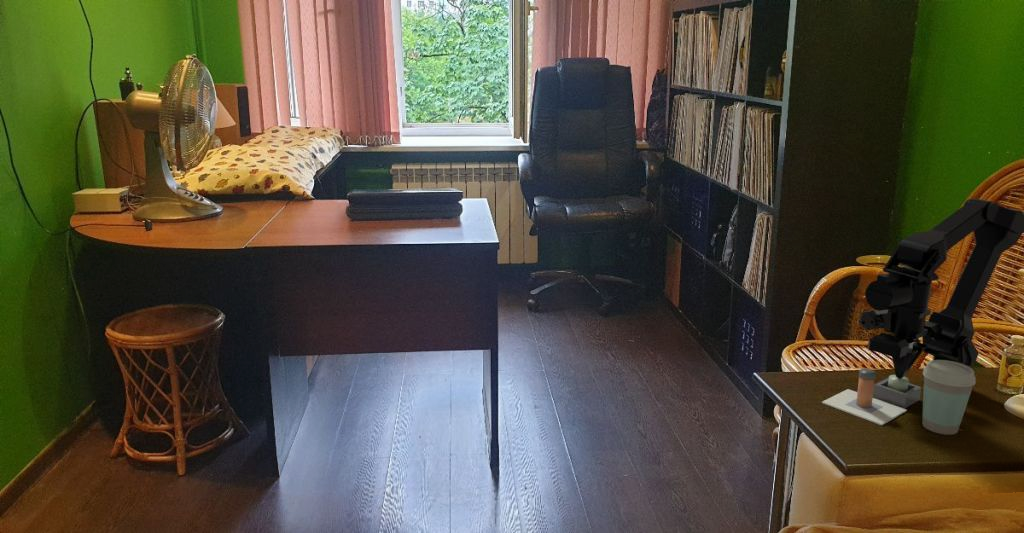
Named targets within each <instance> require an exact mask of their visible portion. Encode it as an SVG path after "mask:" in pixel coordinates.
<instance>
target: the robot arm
mask: <svg viewBox="0 0 1024 533" xmlns="http://www.w3.org/2000/svg"><path fill="white" fill-rule="evenodd" d="M972 233H973V237H974V241H975V245H974V246H973V249H972V251H971V254H970V256H969V258H968V260H967V263H966V264H965V267H964V269H963V271H962V273H961V275H960V277H959V279H958V281H957V284H956V286H955V288H954V289H953V292H952V294H951V297H950V299H949V301H948V303H947V305H946V307H945V308H944V309H942V310H941V311H939V312H938V311H933V312H932V309H931V308H928V306H929V300H930V295H931V288H932V282H933V281H938V280H939V278H940V277H939V275H938V274H937V273H936V271H937V270H938V269H939V268H940V267H941V266H942V265H943V264H944V263H945V262H946V261H947V259H948V252H949V251H950V249H952V248H953V247H954V246H956V245H957V244H958V243H960V242H961V241H963V240H964V239H965V238H966V237H968V236H969V235H971V234H972ZM1023 234H1024V212H1023V211H1022V210H1020V209H1015V208H1008V207H1004V206H1002V205H1000V204H998V203H996V202H994V201H991V200H986V199H979V198H969V199H967V200H966V201H965V203H964V204H963V205H962V207H959V209H957V210H956V211H955V212H953V213H952V214H950V215H949V216H948V217H947V218H945V219H944V220H942V221H941V222H939V223H938V224H936V226H934V227H933V228H931V229H930V230H926V231H921V232H915V233H913V234H911V235H908V236H907V237H905V238H903V239H902V240H901V241H900V242H899V243H898V244H897V246H896V248H895V249H894V251H893V253H892V254H891V256H890V258H889V259H888V261H887V262H886V264H885V266H884V267H883V269H882V272H884V273H879V274H877V277H876V280H873V281H871V282H870V283H869V284H868V285H867V287H866V288H865V292H864V294H865V297H864V298H865V300H866V303H867V304H868V305H869V307H870V308H872V309H871V310H865V311H862V313H861V315H860V316H859V321H858V322H859V324H860V325H861V326H862V327H863V329H864V331H870V330H879V329H883V332H881V333H879V334H877V335H874V336H872V337H870V338H869V339H868V343H867V349H868V351H872V352H875V353H879V354H882V355H886V356H888V357H891V359H892V363H893V368H894V369H893V370H894V373H895V374H894V375H896V377H897V378H900V379H901V378H903V377H906V375H907V373H908V372H909V371H910V370H911V368H912V367H913V365H914V364H915V363H916V361H917V360H918V359H919V357H920V356H921V355H922V353H924V354H927V355H928V354H929V355H930V356H932V360H947V361H953V362H957V363H961V364H964V365H966V366H968V367H973V364H975V363H976V361H977V359H978V356H979V354H980V353H979V351H978V349H977V348H976V346H975V344H974V342H973V338H974V335H975V329H974V324H973V319H972V318H973V315H974V313H975V311H976V309H977V307H978V305H979V303H980V301H981V299H982V297H983V294H984V292H985V290H986V289H987V288H986V287H987V286H988V284H989V281H990V279H991V277H992V275H993V272H994V270H995V268H996V267H997V265H998V262H999V260H1000V257H1001V255H1002V254H1003V253H1004V252H1006V251H1007V250H1009V249H1011V247H1014V246H1015V245H1016V244H1017V243H1018V241H1019V240H1020V238H1021V236H1022V235H1023ZM899 265H900V266H899ZM931 312H932V313H931ZM928 316H929V318H928V320H926V319H927V317H928ZM891 333H892V334H891ZM920 338H922V343H921V339H920ZM921 383H922V384H923V385H924V379H923V380H922V382H921Z"/></svg>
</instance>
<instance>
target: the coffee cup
mask: <svg viewBox="0 0 1024 533" xmlns="http://www.w3.org/2000/svg"><path fill="white" fill-rule="evenodd" d="M922 375H923V376H924V377H923V380H924V384H923V391H922V392H923V395H922V396H923V398H922V420H921V421H922V426H923V427H924V429H926V430H928V431H931V432H932V433H936V434H940V435H945V436H946V435H947V436H948V435H949V436H950V435H955V434H957V433H958V432H959V429H960V425H961V423H962V420H963V417H964V414H965V411H966V408H967V405H968V402H969V400H970V396H971V393H972V389H973V387H974V386H975V385H976V383H977V382H976V380H977V378H976V376H975V370H974V369H973V368H972V367H971V366H966V365H964V364H961V363H957V362H953V361H947V360H933V359H932V360H930V361H928V362H927V364H926V366H925V367H924V368H923V370H922Z"/></svg>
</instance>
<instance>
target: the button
mask: <svg viewBox="0 0 1024 533" xmlns="http://www.w3.org/2000/svg"><path fill="white" fill-rule="evenodd" d="M888 377H889V381H888V388H891V389H894V390H897V391H900V392H903V393H905V392H907V391H908V385H909V383H910V379H909V378H908V377H906V376H904V377H903V378H901V379H900V378H897V377H896V375H895V374H890V375H888Z"/></svg>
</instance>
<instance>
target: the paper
mask: <svg viewBox="0 0 1024 533" xmlns="http://www.w3.org/2000/svg"><path fill="white" fill-rule="evenodd" d="M857 392H858V391H855V390H852V389H850V388H847V389H845V390H843V391H841V392H839V393H837V394H835V395H833V396H831V397H828V398H827V399H825V400H823V401H821V404H823V405H825V406H828V407H831V408H834V409H836V410H839V411H842V412H844V413H847V414H849V415H853V416H856V417H858V418H860V419H862V420H866V421H869V422H871V423H874V424H876V425H879V426H884V425H885V424H887V423H888V422H891V421H892V420H894V419H896V418H897V417H899V416H900V415H903V414H904V413H906V412H907V411H908V409H907V408H905V409H904V408H901V407H899V406H896V405H893V404H890V403H887V402H884V401H881V400H879V399H876V398H873V400H872V407H871V408H862V407H859V406H857V405H856V401H857Z"/></svg>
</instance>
